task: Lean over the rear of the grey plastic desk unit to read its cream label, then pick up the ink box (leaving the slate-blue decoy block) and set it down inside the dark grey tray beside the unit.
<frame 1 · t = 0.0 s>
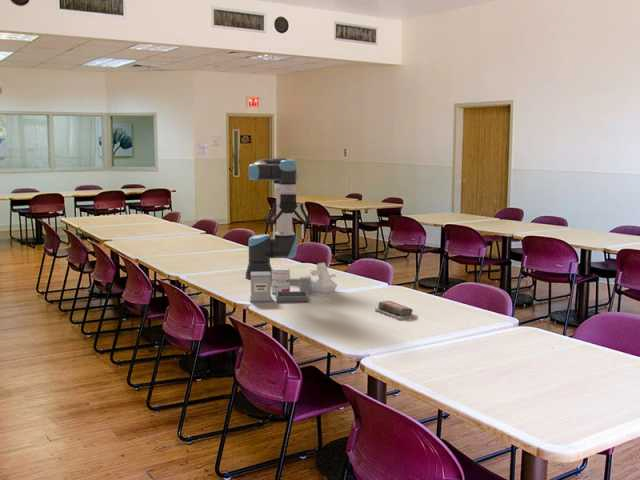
hand: (288, 238, 311), 28 cm above the table, fingers open, 13 cm apart
ink box: (280, 293, 324), on the table
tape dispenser: (324, 291, 328), on the table
unit: (260, 300, 308), on the table
decoy block: (305, 292, 325), on the table
tray: (291, 299, 309), on the table
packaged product: (395, 315, 282), on the table
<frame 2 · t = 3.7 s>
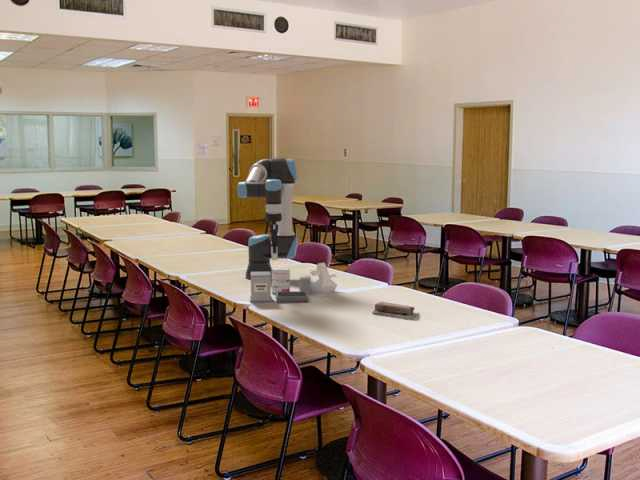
hand: (274, 257, 313), 19 cm above the table, fingers open, 13 cm apart
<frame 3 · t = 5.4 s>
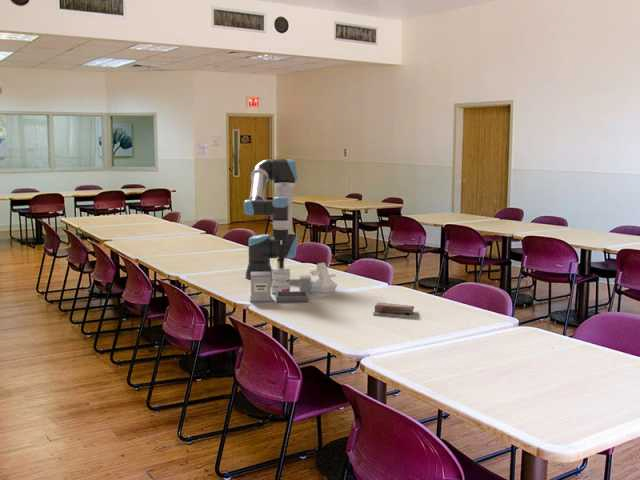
hand: (280, 272, 322), 10 cm above the table, fingers open, 13 cm apart
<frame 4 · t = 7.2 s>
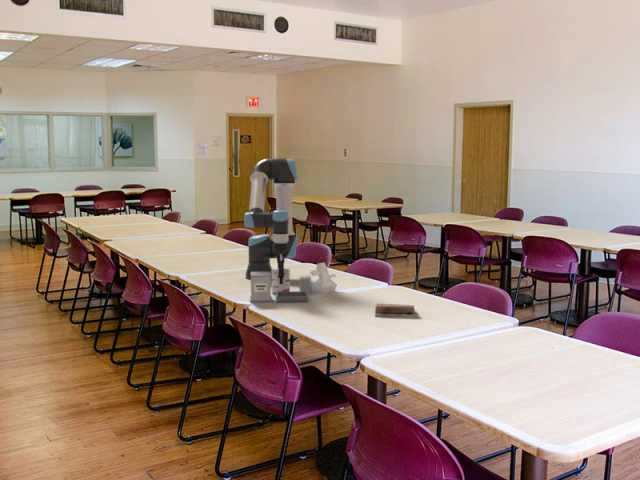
hand: (280, 288, 323), 2 cm above the table, fingers closed on ink box, 6 cm apart
ink box: (280, 293, 324), on the table, touching gripper
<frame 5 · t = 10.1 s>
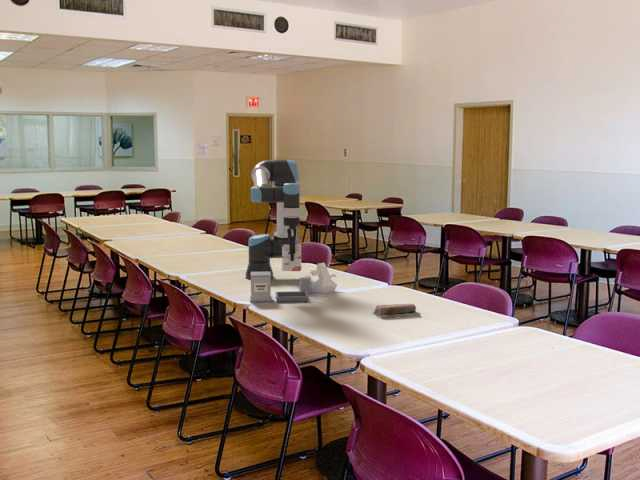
hand: (291, 266, 307), 16 cm above the table, fingers closed on ink box, 5 cm apart
ink box: (291, 270, 307), point 14 cm above the table, touching gripper
when the fingers open (4 cm above the table, at t = 12.8 s): ink box drops 1 cm, resting on tray.
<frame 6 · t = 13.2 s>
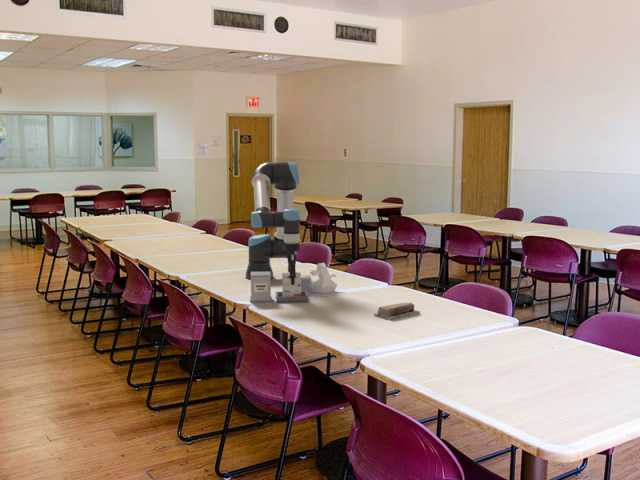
hand: (291, 288, 308), 5 cm above the table, fingers open, 11 cm apart
ink box: (291, 298, 310), resting on tray
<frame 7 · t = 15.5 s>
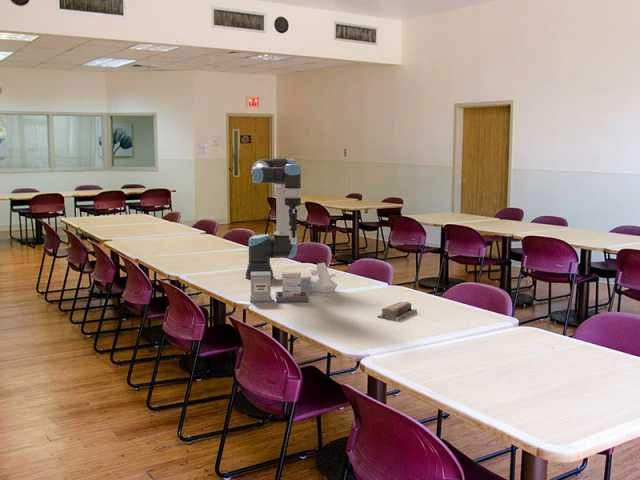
hand: (292, 241, 312), 26 cm above the table, fingers open, 13 cm apart
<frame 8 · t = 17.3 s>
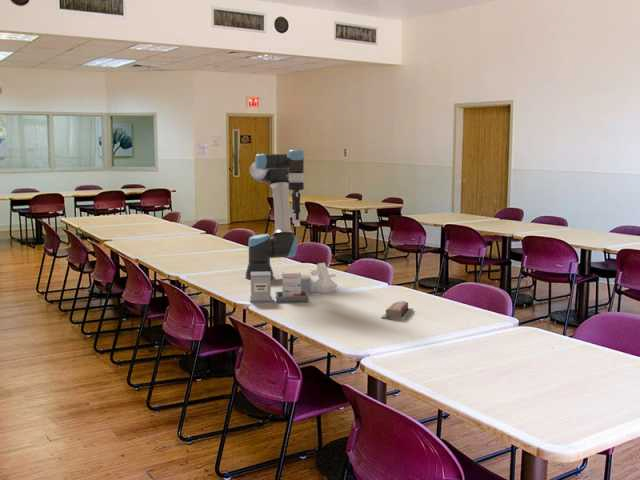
hand: (296, 224, 326), 33 cm above the table, fingers open, 13 cm apart
at the end: ink box inside the target area on the tray (1.1 cm from its centre), point 0.4 cm above the tray's base; ink box tilted 0°; the gripper is holding nothing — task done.
